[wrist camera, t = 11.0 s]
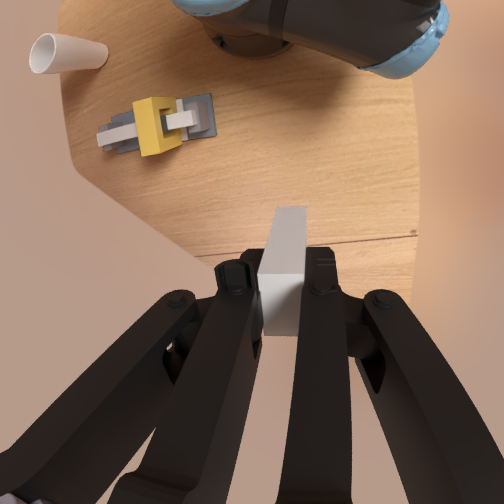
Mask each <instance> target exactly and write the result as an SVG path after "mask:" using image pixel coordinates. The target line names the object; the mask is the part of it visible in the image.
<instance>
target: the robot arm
mask: <svg viewBox="0 0 504 504" xmlns="http://www.w3.org/2000/svg"><path fill="white" fill-rule="evenodd" d="M171 1H172V2H173V3H174V4H175V5H176V6H177V8H179V9H180V10H181V11H184V12H185V13H187V14H190V15H192V16H193V17H195V18H197V19H198V20H200V21H201V22H203V23H204V26H205V29H206V32H207V34H208V35H209V37H210V38H211V40H212V41H213V42H214V43H215V44H216V45H217V46H218V47H219V48H221V49H222V50H224V51H226V52H227V53H229V54H231V55H234V56H236V57H240V58H244V59H264V58H269V57H273V56H275V55H278V54H280V53H282V52H284V51H285V50H287V49H288V48H290V47H291V46H292V45H293V44H294V43H295V44H298V45H301V46H304V47H307V48H310V49H313V50H316V51H319V52H322V53H325V54H327V55H330V56H333V57H335V58H338V59H340V60H343V61H345V62H348V63H350V64H353V65H354V66H355V67H356V68H358V69H360V70H364V71H370V72H373V73H375V74H378V75H380V76H382V77H385V78H388V79H402V78H405V77H407V76H409V75H411V74H413V73H414V72H416V71H417V70H418V69H419V68H421V67H422V66H423V65H424V64H425V63H426V62H427V61H428V60H429V59H430V57H431V56H432V55H433V54H434V52H435V51H436V49H437V48H438V46H439V44H440V43H439V39H440V38H441V37H442V36H443V35H444V34H445V32H446V29H447V27H448V22H449V12H448V9H447V7H446V5H445V4H444V3H443V1H442V0H171ZM214 271H215V276H216V281H217V286H218V290H217V293H216V295H215V296H213V297H208V298H203V299H197V300H196V298H195V295H194V294H193V293H192V292H191V291H188V290H174V291H172V292H169V293H167V294H165V295H164V296H163V297H161V298H160V299H159V300H158V301H157V302H156V303H155V304H154V305H153V306H152V307H151V308H150V309H149V310H147V311H146V312H145V313H144V314H143V315H142V316H141V317H140V318H139V319H138V320H137V321H136V322H135V323H134V324H133V325H132V326H131V327H130V328H129V329H128V330H126V331H125V332H124V333H123V334H122V335H121V336H120V337H119V338H118V339H117V340H116V341H115V342H114V343H113V344H112V345H111V346H110V347H109V348H108V349H107V350H106V351H105V352H104V353H103V354H102V355H101V356H100V357H99V358H98V359H97V360H96V361H95V362H94V363H92V364H91V366H89V367H88V368H87V369H86V370H85V371H84V372H83V373H82V374H81V375H80V376H79V377H78V378H77V380H75V381H74V382H73V383H72V384H71V385H70V386H69V387H68V388H67V389H66V390H65V391H64V392H63V393H62V394H61V395H60V397H58V398H57V399H56V400H55V401H54V403H52V404H51V406H50V407H49V408H48V409H47V410H46V411H45V412H44V413H43V414H42V415H41V416H40V417H39V418H38V419H37V420H36V421H35V422H34V423H33V424H32V425H31V426H30V427H29V428H28V429H27V430H26V431H25V433H23V435H22V436H21V437H20V438H19V439H18V440H17V441H16V442H15V443H14V444H13V445H12V446H11V447H10V448H9V449H7V450H6V451H4V452H2V453H0V504H95V503H96V502H97V501H98V500H99V499H100V497H101V496H102V495H103V494H104V492H105V491H106V490H107V489H108V488H109V486H110V485H111V484H112V482H113V481H114V480H115V479H116V478H117V476H118V475H119V474H120V473H121V471H122V470H123V469H124V467H125V466H126V465H127V464H128V462H129V461H130V460H131V459H132V457H133V456H134V455H135V453H136V452H137V451H138V449H139V448H140V447H141V446H142V444H143V443H144V442H145V441H146V439H147V438H148V437H149V435H150V434H151V433H152V432H153V430H154V429H155V428H156V429H155V431H154V433H153V436H152V438H151V440H150V443H149V445H148V447H147V450H146V452H145V454H144V457H143V459H142V461H141V464H140V465H139V467H138V468H137V470H135V471H133V472H129V473H125V474H124V475H123V476H122V477H120V478H119V480H118V482H117V483H116V485H115V487H114V489H113V491H112V494H111V496H110V498H109V500H108V502H107V504H226V500H227V496H228V492H229V488H230V484H231V481H232V476H233V472H234V468H235V464H236V460H237V456H238V451H239V448H240V443H241V439H242V435H243V431H244V426H245V422H246V418H247V413H248V409H249V404H250V400H251V395H252V391H253V386H254V382H255V377H256V373H257V368H258V363H259V359H260V354H261V349H262V337H261V333H262V329H263V330H264V335H265V336H298V342H297V353H296V363H295V373H294V382H293V392H292V400H291V408H290V417H289V424H288V432H287V439H286V446H285V453H284V460H283V467H282V473H281V480H280V485H279V492H278V496H277V501H276V503H275V504H353V503H352V499H351V482H352V481H351V480H352V421H351V395H350V378H349V377H350V376H349V362H348V356H349V357H354V358H355V362H356V365H357V367H358V370H359V372H360V374H361V377H362V379H363V382H364V384H365V387H366V389H367V391H368V394H369V396H370V399H371V401H372V404H373V406H374V409H375V411H376V414H377V416H378V419H379V421H380V424H381V427H382V429H383V432H384V435H385V437H386V440H387V442H388V445H389V448H390V450H391V453H392V456H393V459H394V461H395V464H396V467H397V470H398V472H399V476H400V478H401V481H402V484H403V487H404V490H405V493H406V496H407V499H408V502H409V504H504V458H503V456H502V454H501V453H500V451H499V449H498V447H497V445H496V443H495V441H494V439H493V437H492V435H491V434H490V432H489V430H488V428H487V426H486V425H485V423H484V421H483V419H482V417H481V416H480V414H479V412H478V410H477V409H476V407H475V405H474V404H473V402H472V400H471V399H470V397H469V395H468V394H467V392H466V391H465V389H464V387H463V386H462V384H461V383H460V381H459V379H458V378H457V376H456V375H455V373H454V372H453V370H452V368H451V367H450V365H449V364H448V362H447V361H446V359H445V358H444V356H443V355H442V353H441V352H440V350H439V349H438V348H437V346H436V345H435V343H434V342H433V340H432V339H431V337H430V336H429V335H428V333H427V332H426V330H425V329H424V328H423V326H422V325H421V323H420V322H419V321H418V319H417V318H416V317H415V315H414V314H413V313H412V311H411V310H410V308H409V307H408V306H407V304H406V303H405V302H404V300H403V299H402V298H401V297H400V296H399V295H398V294H397V293H395V292H392V291H390V290H385V289H378V290H373V291H370V292H368V293H367V294H366V295H365V297H364V299H360V298H356V297H352V296H349V295H347V294H345V293H344V292H343V291H342V290H341V287H340V285H339V284H338V277H337V269H336V261H335V254H334V252H333V251H332V250H331V249H330V248H329V247H307V216H306V206H290V207H277V209H276V213H275V216H274V219H273V223H272V226H271V229H270V233H269V236H268V240H267V243H266V246H265V249H247V250H246V251H245V252H244V253H242V254H241V256H240V258H239V259H232V260H227V261H224V262H222V263H220V264H218V265H217V266H216V267H215V268H214ZM171 343H172V345H173V346H172V347H171V348H170V349H169V350H167V349H166V348H167V347H168V346H169V345H170V344H171Z"/></svg>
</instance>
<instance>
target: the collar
mask: <svg viewBox="0 0 504 504" xmlns="http://www.w3.org/2000/svg"><path fill="white" fill-rule="evenodd" d="M132 103H133V109H134V116H135V122H136V128H137V134H138V139H139V145H140V150H141V155H142V156H148V155H153V154H158V153H162V152H164V151H167V150H169V149H172V148H174V147H177V146H179V145H182V139H181V132H180V128H175V129H174V130H170V131H165V132H162V126H161V120H160V115H165V114H171V113H172V114H174V113H177V107H176V100H175V97H150V98H146V99H143V100H139V101H136V102H132Z"/></svg>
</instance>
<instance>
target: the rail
mask: <svg viewBox="0 0 504 504" xmlns="http://www.w3.org/2000/svg"><path fill="white" fill-rule="evenodd" d="M176 107H177V113H174V114H172V113H171V114H165V115H160V120H161V126H162V132H165V131H170V130H174V129H175V128H180V132H181V139H182V141H184V140H189V139H196V138H202V137H209V136H216V135H217V131H216V124H215V117H214V110H213V103H212V96H211V93H208V94H203V95H198V96H192V97H187V98H183V99H178V100H176ZM111 122H112V123H110V124H106V125H103V126H100V127H99V130H100V133H97V134H96V136H97V141H98V146H103V151H107V150H111V149H114V148H116V149H117V154H119V153H123V152H127V151H132V150H136V149H140V145H139V139H138V134H137V128H136V122H135V116H134V111H130V112H127V113H124V114H120V115H117V116H114V117H111Z"/></svg>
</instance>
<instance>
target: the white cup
mask: <svg viewBox="0 0 504 504" xmlns="http://www.w3.org/2000/svg"><path fill="white" fill-rule="evenodd" d="M108 53H109V52H108V48H107V46H106V45H105V44H104V43H100V42H95V41H91V40H87V39H83V38H79V37H75V36H71V35H67V34H58V33H46V34H43V35H42V36H40V37H39V38H38V39H37V40H36V42H35V43H34V45H33V47H32V49H31V52H30V57H29V64H30V68H31V70H32V71H33V72H34V73H35V74H54V73H62V72H69V71H76V70H85V69H97V68H100V67H101V66H103V65H104V63H105V62H106V60H107V58H108Z"/></svg>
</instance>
